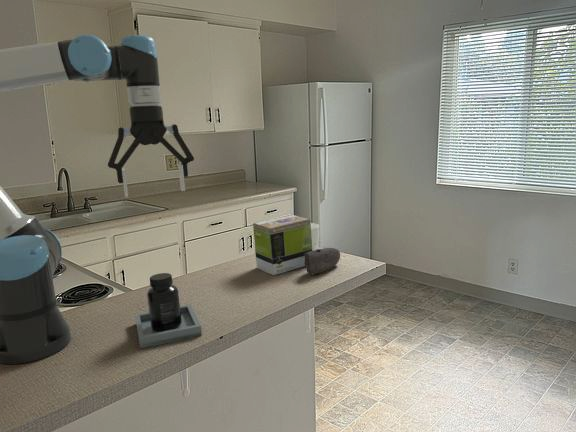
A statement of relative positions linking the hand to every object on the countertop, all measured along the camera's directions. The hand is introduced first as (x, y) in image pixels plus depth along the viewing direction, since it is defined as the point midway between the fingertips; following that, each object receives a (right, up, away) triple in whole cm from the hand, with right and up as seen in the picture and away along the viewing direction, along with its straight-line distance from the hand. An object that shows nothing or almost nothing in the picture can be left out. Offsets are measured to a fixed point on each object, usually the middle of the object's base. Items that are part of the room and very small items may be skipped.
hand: (155, 193), depth 117 cm
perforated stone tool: (+44, -22, +24) cm, 54 cm away
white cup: (+40, -19, +39) cm, 59 cm away
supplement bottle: (+5, -31, -10) cm, 33 cm away
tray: (+6, -31, -10) cm, 33 cm away
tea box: (+32, -21, +29) cm, 48 cm away
